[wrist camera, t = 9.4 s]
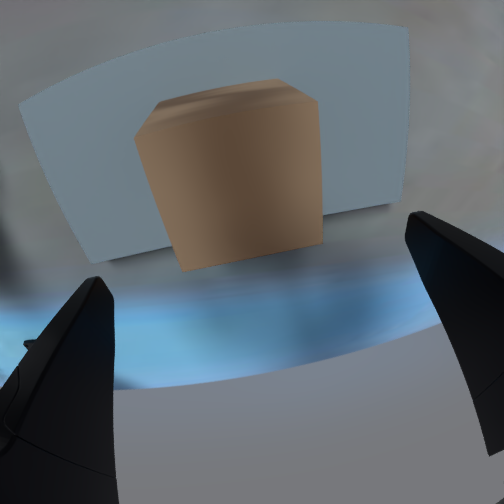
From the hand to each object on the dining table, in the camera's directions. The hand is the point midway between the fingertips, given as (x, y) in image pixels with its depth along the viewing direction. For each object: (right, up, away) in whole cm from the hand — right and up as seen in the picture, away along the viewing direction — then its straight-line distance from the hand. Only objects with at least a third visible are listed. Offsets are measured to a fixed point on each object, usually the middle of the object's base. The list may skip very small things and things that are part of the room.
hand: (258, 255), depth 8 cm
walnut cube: (-1, +6, +7) cm, 9 cm away
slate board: (-2, +7, +9) cm, 11 cm away
